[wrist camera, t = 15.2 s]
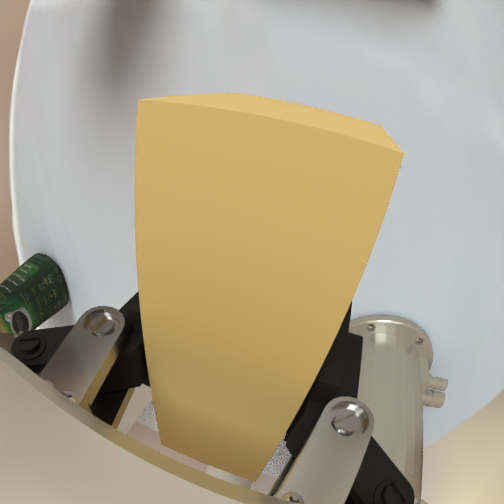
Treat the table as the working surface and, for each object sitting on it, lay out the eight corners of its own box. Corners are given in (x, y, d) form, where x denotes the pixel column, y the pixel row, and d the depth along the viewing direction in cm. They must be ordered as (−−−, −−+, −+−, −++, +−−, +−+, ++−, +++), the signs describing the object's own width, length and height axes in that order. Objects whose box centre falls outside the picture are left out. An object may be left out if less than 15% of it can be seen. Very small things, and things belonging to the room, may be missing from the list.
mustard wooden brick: (380, 125, 7) (404, 153, 4) (285, 399, 14) (255, 481, 10) (238, 93, 8) (138, 100, 4) (205, 370, 14) (161, 444, 11)
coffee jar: (33, 246, 43) (-49, 306, 27) (61, 258, 41) (-29, 329, 26) (47, 293, 48) (-23, 354, 32) (74, 307, 46) (1, 378, 31)
